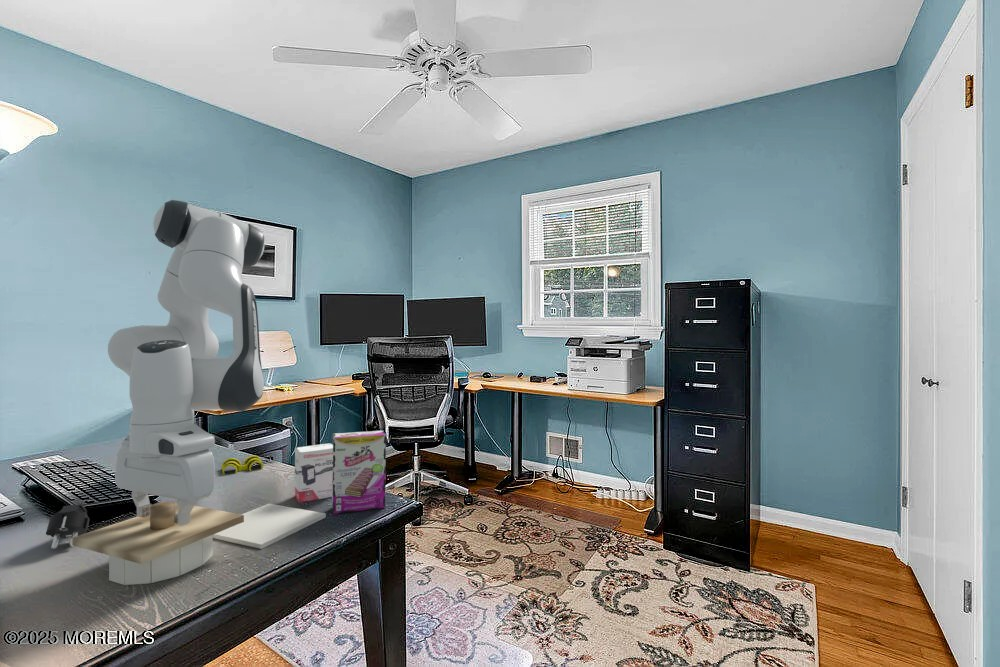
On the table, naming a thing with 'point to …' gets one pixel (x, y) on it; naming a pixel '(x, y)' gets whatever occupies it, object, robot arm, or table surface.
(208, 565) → the table surface
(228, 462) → the opera glasses
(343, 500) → the candy bar box
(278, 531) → the mat
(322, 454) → the ink box
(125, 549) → the lid
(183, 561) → the bowl
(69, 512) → the power plug
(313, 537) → the table surface
